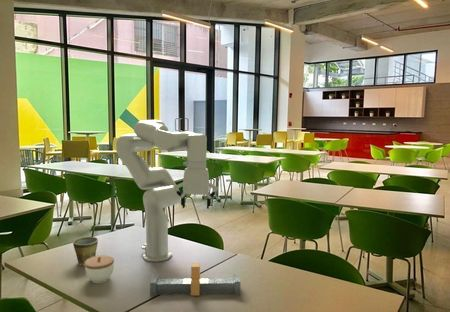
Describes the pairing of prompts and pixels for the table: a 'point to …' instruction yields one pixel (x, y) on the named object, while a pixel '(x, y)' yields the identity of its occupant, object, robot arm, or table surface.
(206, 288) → the rail
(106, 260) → the lidded jar
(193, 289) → the clip
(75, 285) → the table surface
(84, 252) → the ceramic cup
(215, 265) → the table surface
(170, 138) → the robot arm
